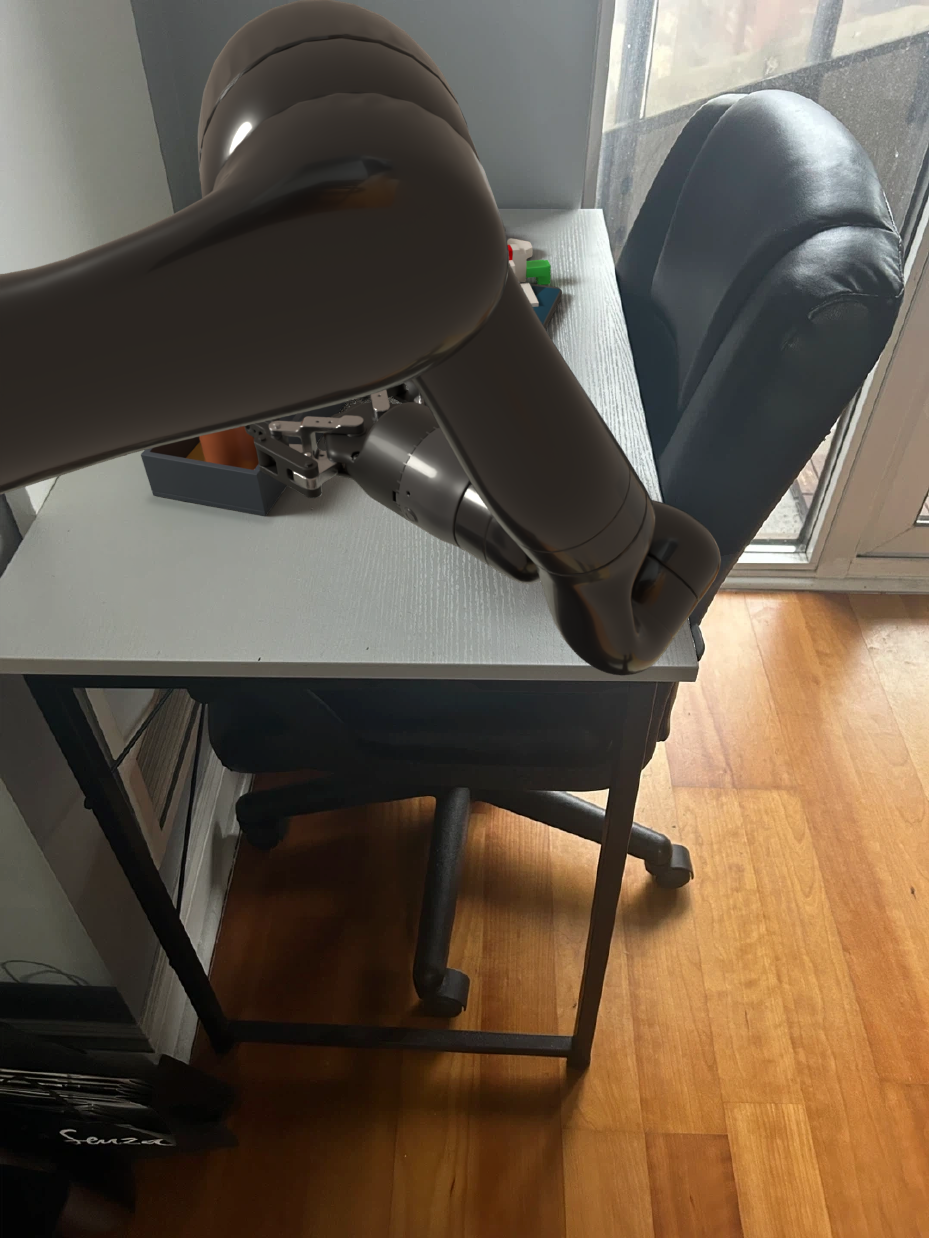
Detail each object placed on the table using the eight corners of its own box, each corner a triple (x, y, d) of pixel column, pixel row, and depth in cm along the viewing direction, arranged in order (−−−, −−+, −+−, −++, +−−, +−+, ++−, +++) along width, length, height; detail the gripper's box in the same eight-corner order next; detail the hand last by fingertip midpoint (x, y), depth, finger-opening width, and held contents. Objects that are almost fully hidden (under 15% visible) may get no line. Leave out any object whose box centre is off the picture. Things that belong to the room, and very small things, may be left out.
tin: (250, 486, 85) (224, 366, 76) (196, 476, 86) (164, 357, 77) (276, 451, 88) (254, 334, 80) (224, 443, 90) (196, 326, 81)
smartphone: (465, 347, 103) (465, 339, 102) (502, 286, 113) (502, 279, 112) (533, 357, 101) (533, 349, 100) (564, 294, 111) (564, 286, 111)
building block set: (366, 238, 124) (363, 203, 121) (519, 225, 126) (520, 190, 123) (385, 326, 106) (382, 288, 103) (563, 309, 108) (565, 271, 105)
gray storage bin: (265, 516, 83) (257, 474, 80) (153, 495, 85) (140, 454, 82) (390, 340, 105) (387, 301, 101) (298, 327, 107) (292, 289, 104)
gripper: (511, 388, 66) (356, 313, 74) (359, 478, 58) (205, 384, 66) (509, 476, 71) (364, 397, 79) (369, 568, 64) (225, 471, 72)
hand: (292, 391), depth 73 cm, fingers open, 8 cm apart
